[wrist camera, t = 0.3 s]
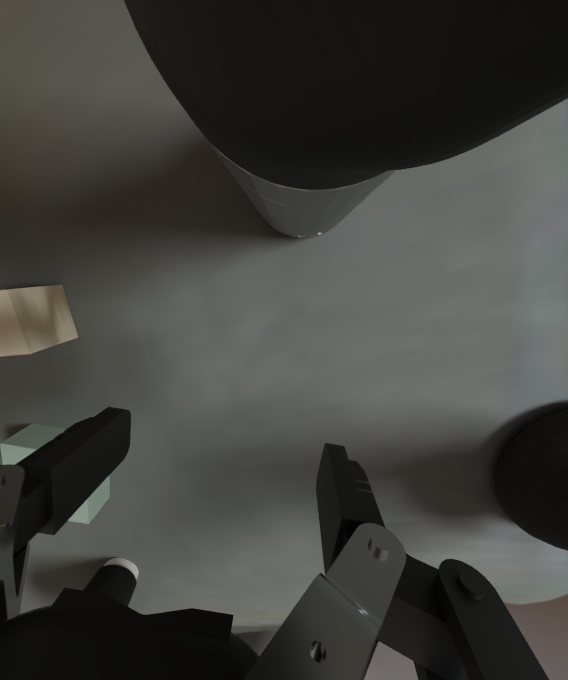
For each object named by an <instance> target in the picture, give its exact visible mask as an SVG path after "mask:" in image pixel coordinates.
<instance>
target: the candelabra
mask: <svg viewBox="0 0 568 680" xmlns="http://www.w3.org/2000/svg"><path fill="white" fill-rule="evenodd" d="M495 488H496V495H497V499H498V502H499V504H500V506H501V508H502V510H503V511H504V513H505V514H506V515H507V516H508V517H509V518H510V519H511V520H512V521H513V522H514V523H516V524H517V525H518V526H519V527H520V528H521V529H523V530H524V531H525V532H527V533H528V534H530V535H531V536H533V537H535V538H537V539H539V540H542V541H544V542H546V543H548V544H551V545H553V546H555V547H558V548H561V549H564V550H568V409H565V410H563V411H560V412H556V413H552V414H548V415H546V416H544V417H543V418H541V419H540V420H538V421H537V422H535V423H533V424H531V425H529V426H527V427H525V428H524V429H523V430H522V431H521V432H520V434H519V435H518V436H517V437H516V438H514V439H513V440H512V441H511V442H510V443H509V444H508V446H507V448H506V450H505V452H504V454H503V456H502V457H501V459H500V460H499V462H498V472H497V476H496V485H495Z"/></svg>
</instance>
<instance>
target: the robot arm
mask: <svg viewBox="0 0 568 680" xmlns="http://www.w3.org/2000/svg"><path fill="white" fill-rule="evenodd" d="M124 1H125V4H126V6H127V9H128V11H129V13H130V16H131V18H132V21H133V23H134V25H135V28H136V30H137V32H138V34H139V36H140V38H141V40H142V42H143V44H144V46H145V48H146V50H147V52H148V54H149V55H150V57H151V59H152V61H153V63H154V64H155V66H156V68H157V69H158V71H159V72H160V74H161V76H162V77H163V79H164V81H165V82H166V84H167V85H168V87H169V88H170V90H171V91H172V93H173V94H174V96H175V97H176V98H177V100H178V101H179V103H180V104H181V105H182V107H183V108H184V109H185V111H186V112H187V114H188V115H189V116H190V118H191V119H192V121H193V122H194V123H195V125H196V126H197V128H198V129H199V131H200V132H201V133H202V135H203V136H204V137H205V139H206V140H207V142H208V143H209V144H210V146H211V147H212V148H213V150H214V151H215V153H216V154H217V155H218V157H219V158H220V160H221V161H222V162H223V163H224V165H225V166H226V167H227V169H228V170H229V171H230V173H231V174H232V176H233V177H234V178H235V180H236V181H237V183H238V184H239V185H240V187H241V188H242V189H243V191H244V192H245V194H246V195H247V196H248V198H249V199H250V201H251V202H252V203H253V205H254V206H255V207H256V209H257V210H258V212H259V213H260V214H261V215H262V217H263V218H264V219H265V221H266V222H267V223H268V224H269V225H270V226H272V227H273V228H274V229H275V230H277V231H279V232H281V233H282V234H285V235H288V236H291V237H297V238H308V237H314V236H317V235H320V234H322V233H325V232H327V231H328V230H330V229H331V228H333V227H334V226H335V225H337V224H338V223H339V222H340V221H341V220H342V219H343V218H344V217H346V216H347V215H348V214H349V213H350V212H351V211H352V210H353V209H354V208H355V207H357V206H358V205H359V204H360V203H361V202H362V201H363V200H364V199H365V198H366V197H367V196H369V195H370V194H371V193H372V192H373V191H374V190H375V189H376V188H377V187H378V186H380V185H381V184H382V183H383V182H384V181H385V180H386V179H387V178H388V177H389V176H390V175H392V174H393V173H394V172H395V171H396V170H400V169H407V168H413V167H418V166H423V165H428V164H433V163H436V162H439V161H443V160H446V159H449V158H452V157H454V156H457V155H459V154H462V153H464V152H467V151H469V150H472V149H474V148H476V147H478V146H480V145H482V144H484V143H486V142H488V141H490V140H492V139H494V138H496V137H498V136H500V135H501V134H503V133H505V132H507V131H509V130H511V129H512V128H514V127H516V126H518V125H520V124H522V123H523V122H525V121H527V120H529V119H531V118H533V117H534V116H536V115H538V114H540V113H542V112H544V111H545V110H547V109H549V108H551V107H553V106H554V105H556V104H558V103H560V102H562V101H564V100H565V99H567V98H568V0H124ZM130 429H131V413H130V411H129V410H125V409H119V408H113V407H108V408H106V409H105V410H103V411H102V412H100V413H99V414H98V415H96V416H95V417H90V418H88V419H85V420H82V421H80V422H77V423H75V424H74V425H72V426H71V427H69V428H68V429H66V430H65V431H64V432H63V433H61V434H59V435H58V436H56V437H55V438H54V439H53V440H50V441H49V442H47V443H46V444H44V445H43V446H41V447H40V448H38V449H37V450H36V451H34V452H33V453H31V454H30V455H28V456H27V457H25V458H24V459H22V460H21V461H19V462H18V463H16V464H15V465H12V464H6V465H0V680H364V678H365V676H366V673H367V670H368V668H369V665H370V662H371V660H372V657H373V654H374V652H375V649H376V646H377V643H378V641H380V642H382V643H383V644H385V645H387V646H389V647H390V648H392V649H394V650H395V651H397V652H399V653H401V654H402V655H404V656H406V657H408V658H409V659H411V660H413V661H414V665H415V668H416V672H417V676H418V680H549V679H548V677H547V675H546V674H545V672H544V670H543V669H542V667H541V665H540V663H539V662H538V660H537V658H536V657H535V655H534V653H533V652H532V650H531V648H530V647H529V645H528V643H527V642H526V640H525V638H524V636H523V635H522V633H521V631H520V630H519V628H518V626H517V625H516V623H515V621H514V620H513V618H512V616H511V615H510V613H509V611H508V610H507V608H506V606H505V604H504V603H503V601H502V599H501V598H500V596H499V594H498V593H497V591H496V590H495V588H494V587H493V586H492V584H491V583H490V582H489V581H488V580H487V579H486V578H485V577H484V576H483V575H482V574H481V573H480V572H478V571H477V570H476V569H474V568H473V567H471V566H470V565H468V564H466V563H464V562H462V561H459V560H455V559H447V560H444V561H443V562H442V563H441V564H440V566H439V569H436V568H434V567H432V566H430V565H427V564H425V563H423V562H421V561H419V560H417V559H415V558H413V557H411V556H409V555H408V554H406V553H405V550H404V548H403V546H402V544H401V542H400V541H399V540H398V538H397V537H396V536H395V535H394V534H393V533H392V532H390V531H389V530H388V529H386V528H385V526H384V523H383V520H382V517H381V515H380V512H379V509H378V506H377V504H376V501H375V498H374V495H373V493H372V490H371V487H370V484H369V482H368V479H367V476H366V473H365V471H364V470H363V469H362V467H361V466H360V465H359V464H358V463H357V462H356V461H351V460H348V457H347V453H346V450H345V447H344V446H341V445H335V444H329V443H325V445H324V449H323V453H322V458H321V462H320V467H319V471H318V476H317V484H316V493H317V503H318V512H319V522H320V531H321V541H322V550H323V560H324V569H325V576H324V575H323V574H322V573H320V574H319V575H317V577H316V578H315V579H314V580H313V582H312V583H311V584H310V586H309V587H308V589H307V590H306V592H305V593H304V594H303V596H302V597H301V599H300V600H299V601H298V603H297V604H296V606H295V607H294V609H293V610H292V611H291V613H290V614H289V616H288V617H287V619H286V620H285V621H284V623H283V624H282V626H281V627H280V628H279V630H278V631H277V633H276V634H275V636H274V637H273V638H272V640H271V641H270V643H269V644H268V645H267V647H266V648H265V650H264V651H263V653H262V654H261V655H260V657H259V656H258V654H257V653H256V652H255V651H254V650H253V649H252V647H251V646H249V644H248V643H246V642H245V641H244V640H243V639H241V638H240V637H239V636H237V635H235V634H233V633H232V632H231V627H232V621H233V615H230V614H224V613H218V612H212V611H206V610H199V609H193V608H191V609H184V610H177V611H170V612H164V613H157V614H150V615H143V614H140V613H138V612H136V611H134V610H133V609H131V608H129V607H127V606H126V605H124V604H122V603H120V602H119V601H117V600H115V599H113V598H112V597H110V596H108V595H106V594H100V593H94V592H88V591H82V590H75V589H69V588H64V590H63V591H62V592H61V594H60V595H59V596H58V598H57V599H56V600H55V602H54V603H53V605H51V606H46V607H42V608H38V609H34V610H31V611H29V612H26V613H23V614H20V605H21V599H22V593H23V587H24V581H25V575H26V569H27V563H28V557H29V551H30V540H31V539H32V538H33V537H34V536H35V535H36V534H37V533H44V534H50V535H55V534H56V533H57V532H58V530H59V529H60V528H61V527H62V526H63V525H64V524H65V523H66V522H67V521H68V520H69V518H70V517H71V516H72V515H73V514H74V513H75V512H76V511H77V510H78V509H79V508H80V506H81V505H82V504H83V503H84V502H85V501H86V500H87V499H88V498H89V497H90V496H91V495H92V493H93V492H94V491H95V490H96V489H97V488H98V487H99V486H100V485H101V484H102V483H103V481H104V480H105V479H106V478H107V477H108V476H109V475H110V474H111V473H112V472H113V471H114V470H115V468H116V467H117V466H118V465H119V464H120V463H121V462H122V461H123V460H124V458H125V457H126V455H127V453H128V450H129V446H130ZM19 614H20V615H19Z"/></svg>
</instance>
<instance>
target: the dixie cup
mask: <svg viewBox="0 0 568 680" xmlns="http://www.w3.org/2000/svg"><path fill="white" fill-rule="evenodd" d="M138 574H139V572H138V569H137V567H136V566H135V565H134V564H133V563H132V562H131V561H129V560H127V559H124V558H113V559H110V560H108V561H107V562H106V564H105V565H104V566H103V567H101V568H100V569H99V570H98V571H97V573H96V574H95V575H94V577H93V578H92V579H91V581H90V582H89V583H88V585H87V586H86V587H85V589H84V590H83V591H88V592H94V593H100V594H106V595H108V596H110V597H112V598H113V599H115V600H117V601H119V602H120V603H122V604H124V605H126V606H127V607H128V605H129V602H130V600H131V597H132V594H133V592H134V589H135V587H136V580H137V577H138Z"/></svg>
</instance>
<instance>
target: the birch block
mask: <svg viewBox="0 0 568 680" xmlns="http://www.w3.org/2000/svg"><path fill="white" fill-rule="evenodd" d="M75 338H78V335H77V332H76V329H75V325H74V322H73V319H72V316H71V312H70V309H69V306H68V303H67V300H66V296H65V293H64V290H63V287H62V284H61V285H50V286H40V287H29V288H18V289H7V290H0V357H2V356H14V355H26V354H32V353H35V352H38V351H41V350H44V349H47V348H49V347H52V346H55V345H58V344H61V343H64V342H67V341H70V340H73V339H75Z"/></svg>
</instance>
